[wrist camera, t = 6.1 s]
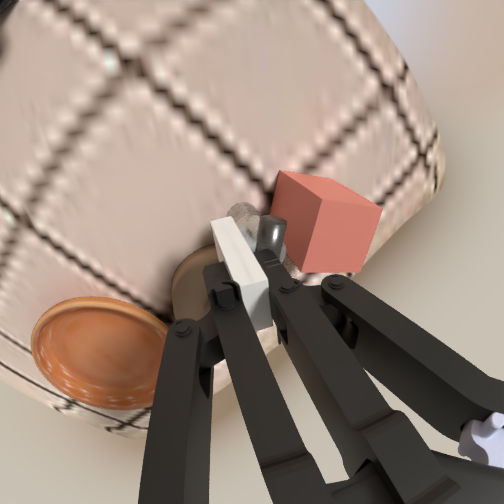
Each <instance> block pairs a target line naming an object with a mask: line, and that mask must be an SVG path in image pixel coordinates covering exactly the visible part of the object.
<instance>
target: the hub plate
mask: <svg viewBox="0 0 504 504" xmlns="http://www.w3.org/2000/svg"><path fill="white" fill-rule="evenodd" d="M218 262H219V259H218V255H217V250H216V246H215V244H212V245H208V246H205V247H203V248H200V249H199V250H197V251H195V252H193V253H192V254H190V255H189V256H188V257H187V258H186V259H185V260H184V261H183V262H182V263H181V264H180V265H179V267H178V268H177V270H176V272H175V274H174V276H173V280H172V285H171V294H172V303H173V312H174V316H175V319H176V321H177V320H180V319H184V318H189V319H193V320H195V321H198V320H200V319H201V318H203V317H204V316H205V312H204V306H205V303H206V301H207V299H208V294H207V289H206V285H205V282H204V278H203V274H202V272H203V269H204V266H206V265H210V264H214V263H218Z"/></svg>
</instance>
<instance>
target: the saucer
mask: <svg viewBox="0 0 504 504" xmlns="http://www.w3.org/2000/svg"><path fill="white" fill-rule="evenodd" d="M168 329H169V327H168V326H167V325H166V324H165V323H163V322H162V321H161V320H160V319H158V318H157V317H155V316H154V315H152V314H151V313H149V312H147V311H145V310H143V309H141V308H139V307H137V306H135V305H132V304H130V303H127V302H124V301H120V300H116V299H111V298H104V297H79V298H73V299H69V300H65V301H63V302H60V303H58V304H56V305H54V306H53V307H51V308H50V309H48V310H47V311H46V312H45V313H44V314H43V315H42V316H41V318H40V319H39V320H38V322H37V324H36V325H35V327H34V329H33V332H32V336H31V350H32V355H33V358H34V361H35V363H36V365H37V367H38V368H39V370H40V372H41V373H42V374H43V375H44V377H45V378H46V379H47V380H48V381H49V382H50V383H51V384H52V385H53V386H55V387H56V388H57V389H58V390H60V391H61V392H63V393H64V394H66V395H67V396H69V397H71V398H73V399H75V400H77V401H80V402H82V403H85V404H88V405H91V406H95V407H99V408H104V409H111V410H135V409H141V408H146V407H150V406H152V404H153V398H154V393H155V388H156V383H157V378H158V373H159V368H160V363H161V358H162V353H163V349H164V344H165V340H166V335H167V331H168Z"/></svg>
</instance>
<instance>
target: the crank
mask: <svg viewBox="0 0 504 504" xmlns="http://www.w3.org/2000/svg"><path fill="white" fill-rule="evenodd" d="M229 216H232V218H233V220H234V222H235V223H236V225H237V227H238V229H239V230H240V232H241V234H242V235H243V237H244V239H245V241H246V242H247V244H248V246H249V247H250V249H251V251H252V253H253V252H257V251H260V250H264V249H268V250H270V251H272V252H274V253H275V255H276V256H277V257H278V259H279V260H280V262H281V263H282V262H283V261H284V259H285V256H286V246H285V244H284V242H283V241H284V236H285V231H286V227H287V221H286V220H285V219H283V218H281V217H278V216H274V215H263V216H262V215H261V214H260V213H259V212H258V211H257V209H256V208H255V207H254V206H253V205H251V204H249V203H245V202H242V203H238V204H236V205H234V206H233V207H232V208H231V209H230V210H229V211H228V213H227V217H229ZM210 307H211V305H210V301H209V298H208V299H207V301H206V303H205V306H204V312H205V315H206V314H207V313H208V312H209V310H210ZM255 332H257V331H255Z"/></svg>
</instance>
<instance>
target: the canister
mask: <svg viewBox="0 0 504 504" xmlns="http://www.w3.org/2000/svg"><path fill="white" fill-rule="evenodd" d="M11 1H12V0H0V13H1V12H2V11H3V10H4V9H5V8H6V7H7V6H8V5H9V4H10V3H11Z"/></svg>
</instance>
